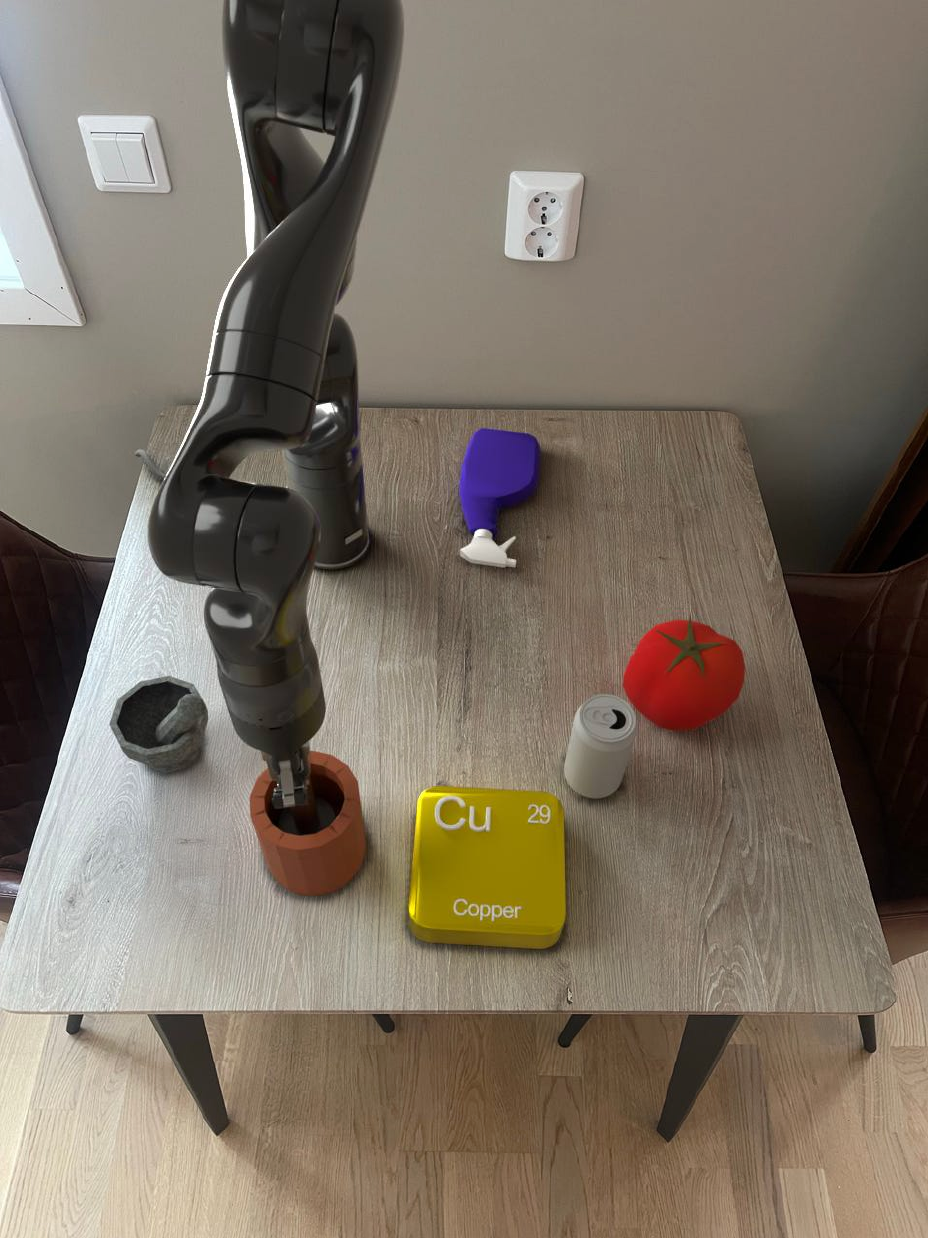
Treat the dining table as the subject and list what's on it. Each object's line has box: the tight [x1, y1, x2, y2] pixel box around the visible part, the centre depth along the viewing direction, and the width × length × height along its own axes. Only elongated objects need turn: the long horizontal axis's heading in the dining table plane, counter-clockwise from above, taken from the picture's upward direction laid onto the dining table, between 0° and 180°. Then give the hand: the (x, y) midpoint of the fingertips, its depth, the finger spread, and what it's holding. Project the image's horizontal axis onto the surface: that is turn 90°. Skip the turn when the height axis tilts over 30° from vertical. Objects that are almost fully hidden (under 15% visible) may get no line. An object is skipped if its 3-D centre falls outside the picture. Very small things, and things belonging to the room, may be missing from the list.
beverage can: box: [563, 693, 638, 799], centre depth 97 cm, size 6×6×12 cm
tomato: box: [622, 612, 746, 732], centre depth 103 cm, size 12×13×12 cm
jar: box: [249, 750, 367, 897], centre depth 91 cm, size 10×10×11 cm
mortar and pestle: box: [108, 675, 209, 774], centre depth 98 cm, size 11×9×12 cm
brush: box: [278, 757, 336, 836], centre depth 87 cm, size 6×6×16 cm
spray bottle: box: [458, 427, 542, 568], centre depth 127 cm, size 3×11×24 cm
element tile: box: [407, 785, 567, 950], centre depth 92 cm, size 15×15×5 cm
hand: (297, 787), depth 85 cm, fingers closed on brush, 2 cm apart
